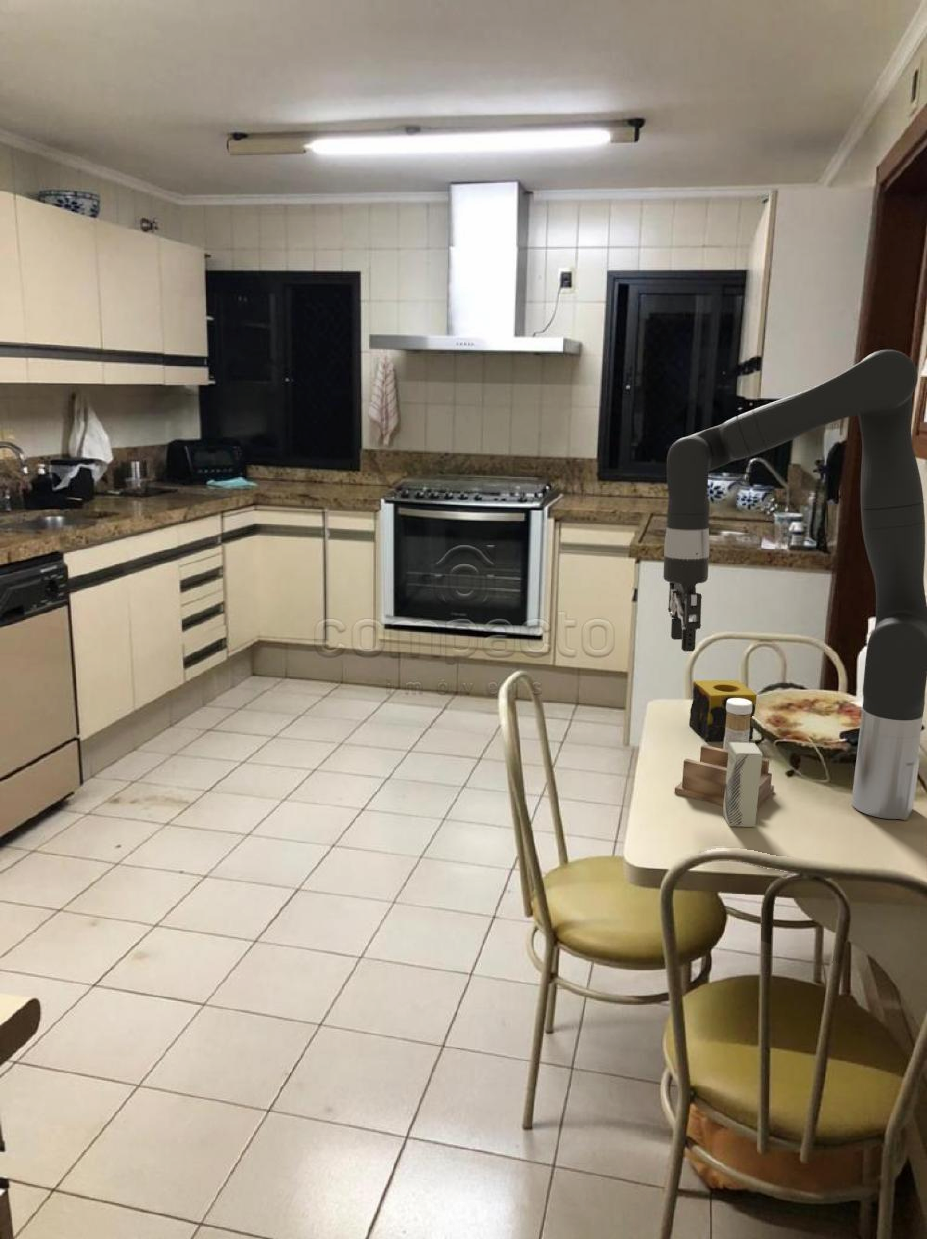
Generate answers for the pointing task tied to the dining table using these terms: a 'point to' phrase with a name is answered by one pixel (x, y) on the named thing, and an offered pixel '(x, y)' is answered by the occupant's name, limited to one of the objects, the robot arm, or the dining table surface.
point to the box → (742, 784)
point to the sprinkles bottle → (737, 721)
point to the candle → (716, 706)
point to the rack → (716, 777)
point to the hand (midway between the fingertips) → (682, 644)
